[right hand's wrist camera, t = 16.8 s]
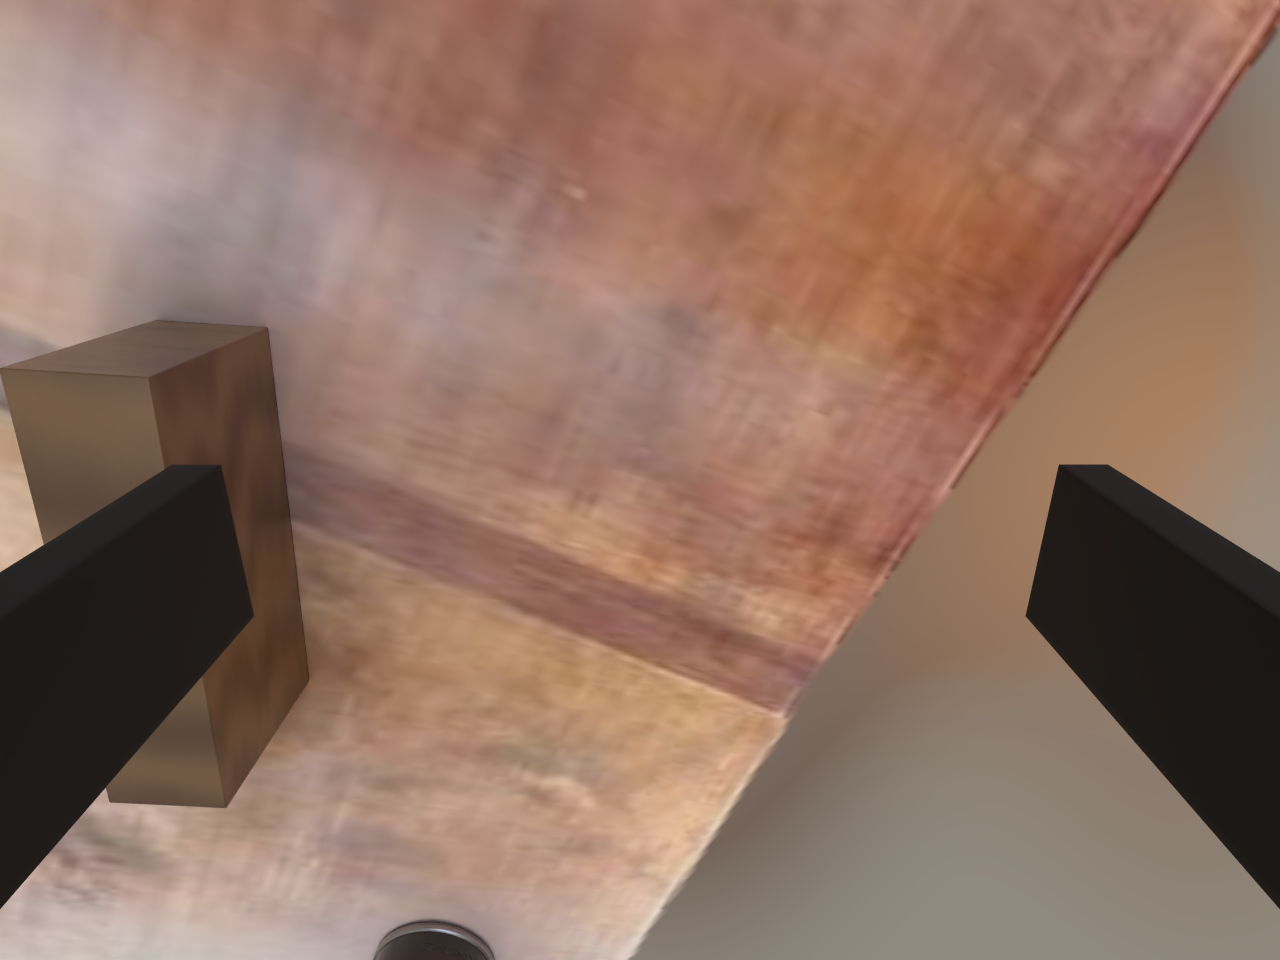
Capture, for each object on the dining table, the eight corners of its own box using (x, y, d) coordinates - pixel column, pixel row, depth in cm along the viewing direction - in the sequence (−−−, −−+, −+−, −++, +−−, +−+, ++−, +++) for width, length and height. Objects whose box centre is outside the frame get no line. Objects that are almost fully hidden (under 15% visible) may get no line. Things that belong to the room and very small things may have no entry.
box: (154, 319, 41) (-2, 368, 31) (267, 327, 42) (148, 377, 31) (216, 675, 50) (108, 803, 40) (309, 680, 50) (226, 808, 40)
